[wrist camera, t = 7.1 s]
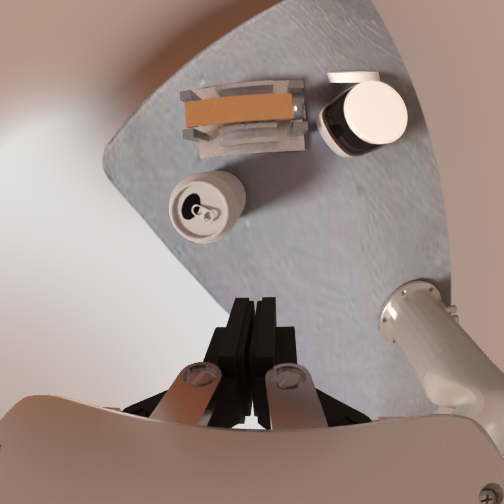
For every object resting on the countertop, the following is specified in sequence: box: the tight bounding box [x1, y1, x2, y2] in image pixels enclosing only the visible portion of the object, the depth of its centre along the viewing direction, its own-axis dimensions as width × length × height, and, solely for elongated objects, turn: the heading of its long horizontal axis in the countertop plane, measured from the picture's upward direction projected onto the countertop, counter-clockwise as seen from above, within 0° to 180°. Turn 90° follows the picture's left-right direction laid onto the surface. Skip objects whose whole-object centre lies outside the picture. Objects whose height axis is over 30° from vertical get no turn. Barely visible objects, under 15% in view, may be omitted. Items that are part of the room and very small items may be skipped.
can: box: [169, 171, 246, 243], centre depth 33 cm, size 8×8×12 cm
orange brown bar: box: [185, 93, 306, 128], centre depth 28 cm, size 13×3×2 cm, turn 94°
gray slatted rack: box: [180, 80, 308, 159], centre depth 31 cm, size 14×10×8 cm
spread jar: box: [316, 72, 408, 157], centre depth 28 cm, size 12×11×12 cm
